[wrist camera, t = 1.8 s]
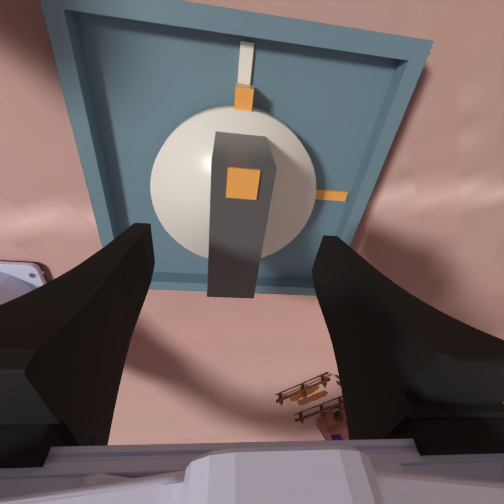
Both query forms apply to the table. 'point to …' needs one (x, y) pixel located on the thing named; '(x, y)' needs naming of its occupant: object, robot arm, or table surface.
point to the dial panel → (223, 92)
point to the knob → (233, 189)
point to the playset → (322, 410)
